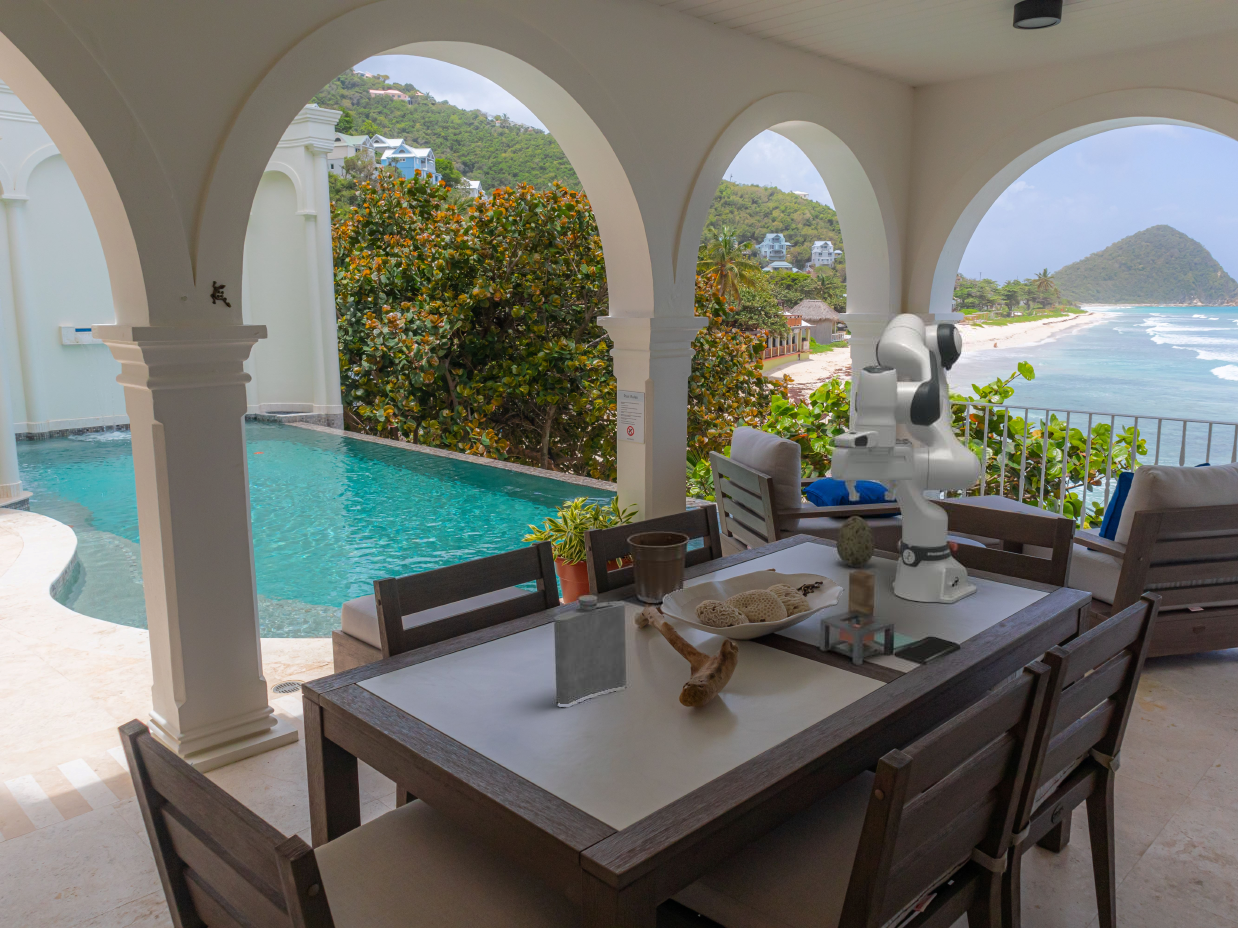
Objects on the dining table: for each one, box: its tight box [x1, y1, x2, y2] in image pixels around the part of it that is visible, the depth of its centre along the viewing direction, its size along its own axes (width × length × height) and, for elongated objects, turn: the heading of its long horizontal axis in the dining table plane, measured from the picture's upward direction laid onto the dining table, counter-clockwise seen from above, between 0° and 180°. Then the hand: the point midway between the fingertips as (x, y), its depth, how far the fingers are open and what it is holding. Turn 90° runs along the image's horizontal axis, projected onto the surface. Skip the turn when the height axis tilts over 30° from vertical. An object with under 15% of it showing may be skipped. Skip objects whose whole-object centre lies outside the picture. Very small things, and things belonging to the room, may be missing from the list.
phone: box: [894, 635, 961, 666], centre depth 192 cm, size 8×1×15 cm
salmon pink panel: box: [839, 624, 875, 644], centre depth 192 cm, size 5×5×2 cm
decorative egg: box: [836, 515, 876, 568], centre depth 258 cm, size 11×11×15 cm
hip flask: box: [553, 594, 627, 704], centre depth 171 cm, size 16×4×20 cm, turn 127°
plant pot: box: [626, 531, 690, 600], centre depth 232 cm, size 16×16×16 cm
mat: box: [871, 631, 919, 651], centre depth 199 cm, size 8×8×1 cm
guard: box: [819, 610, 895, 666], centre depth 192 cm, size 11×11×7 cm
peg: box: [847, 569, 876, 626], centre depth 204 cm, size 4×4×14 cm
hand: (872, 500), depth 197 cm, fingers open, 8 cm apart
